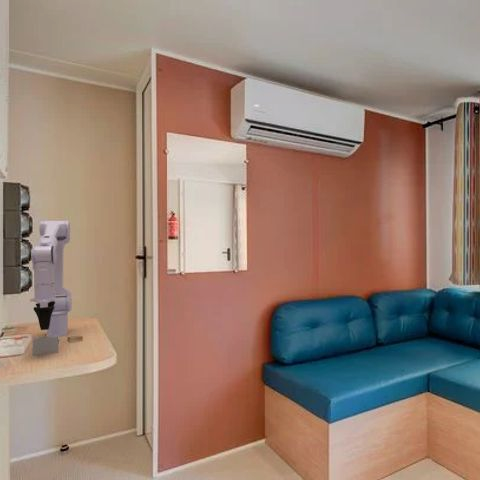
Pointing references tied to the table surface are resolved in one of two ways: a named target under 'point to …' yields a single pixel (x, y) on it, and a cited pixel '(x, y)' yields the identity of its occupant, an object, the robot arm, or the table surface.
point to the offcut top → (74, 338)
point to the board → (45, 345)
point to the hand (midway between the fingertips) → (45, 327)
